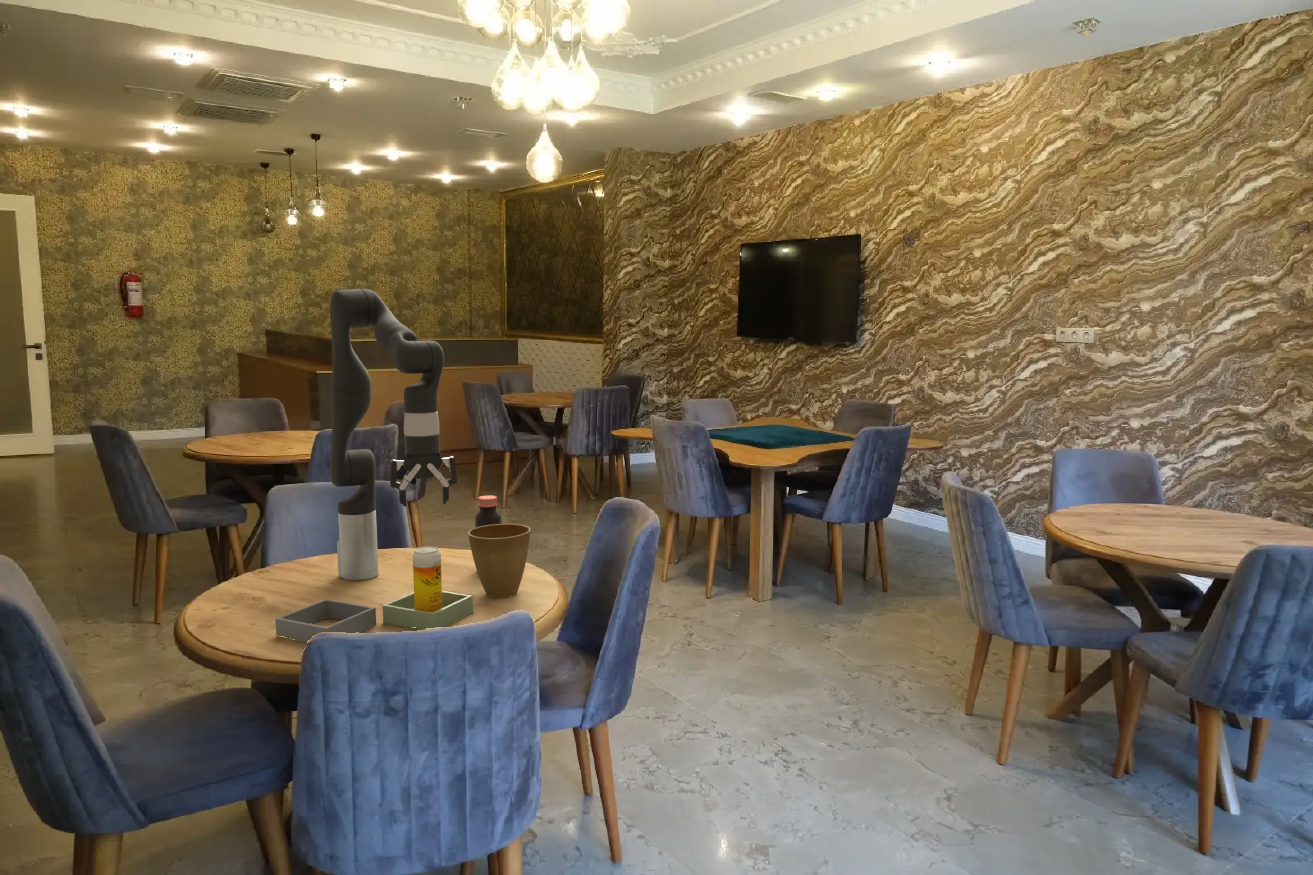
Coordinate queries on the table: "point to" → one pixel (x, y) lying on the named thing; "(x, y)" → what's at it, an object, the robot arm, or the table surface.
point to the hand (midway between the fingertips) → (424, 504)
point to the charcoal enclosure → (350, 614)
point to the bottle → (487, 511)
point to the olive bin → (407, 616)
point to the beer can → (427, 579)
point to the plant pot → (500, 557)
